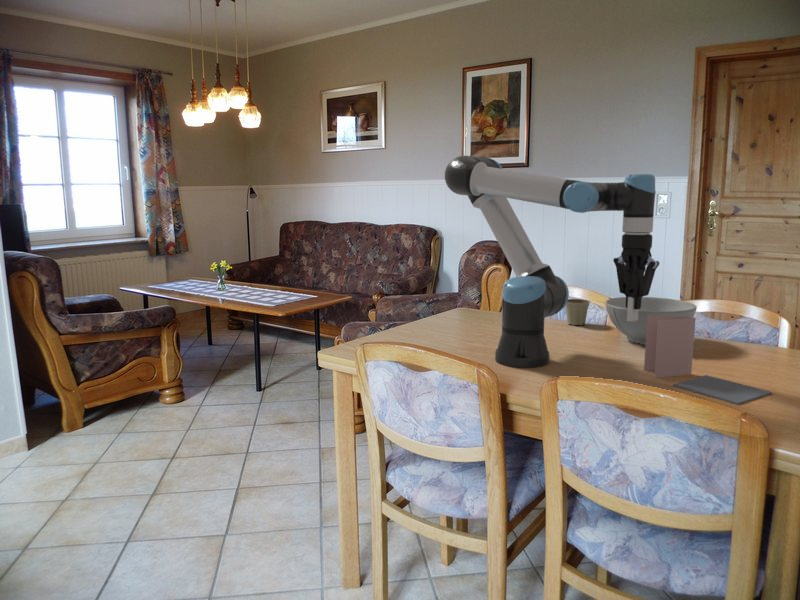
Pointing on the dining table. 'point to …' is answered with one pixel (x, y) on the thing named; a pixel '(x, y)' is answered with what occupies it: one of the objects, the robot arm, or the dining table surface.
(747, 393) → the mat
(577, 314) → the flower pot
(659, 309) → the decorative bowl
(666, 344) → the greeting card
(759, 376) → the dining table surface
